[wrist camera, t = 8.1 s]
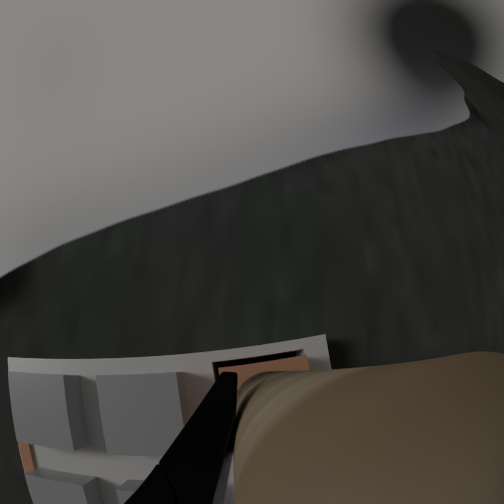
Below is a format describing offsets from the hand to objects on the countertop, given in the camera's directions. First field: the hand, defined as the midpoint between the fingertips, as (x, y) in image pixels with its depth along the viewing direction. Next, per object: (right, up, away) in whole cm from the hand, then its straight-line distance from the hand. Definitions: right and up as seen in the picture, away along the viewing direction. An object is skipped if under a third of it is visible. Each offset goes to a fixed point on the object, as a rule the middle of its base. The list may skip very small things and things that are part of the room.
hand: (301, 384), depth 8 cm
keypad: (-7, -9, +8) cm, 14 cm away
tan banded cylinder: (0, -4, +6) cm, 7 cm away
